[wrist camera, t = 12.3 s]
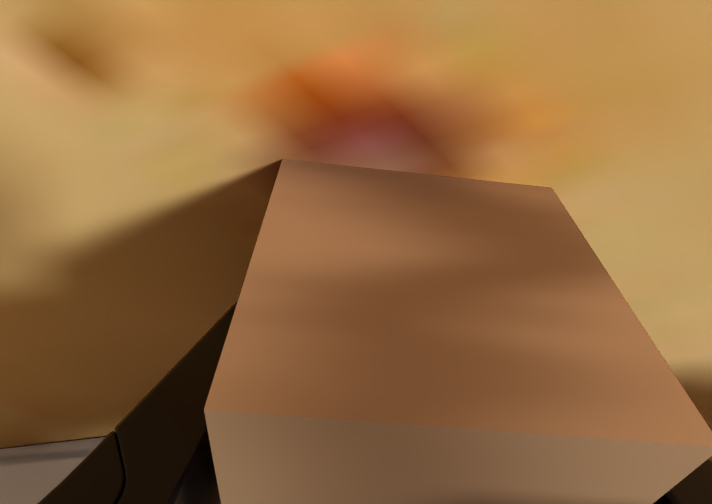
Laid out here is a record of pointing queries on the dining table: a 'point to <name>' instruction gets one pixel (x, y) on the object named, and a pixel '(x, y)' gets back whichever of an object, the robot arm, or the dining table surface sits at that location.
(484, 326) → the walnut cube
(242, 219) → the dining table surface
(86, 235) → the dining table surface
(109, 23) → the dining table surface
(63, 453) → the tray
